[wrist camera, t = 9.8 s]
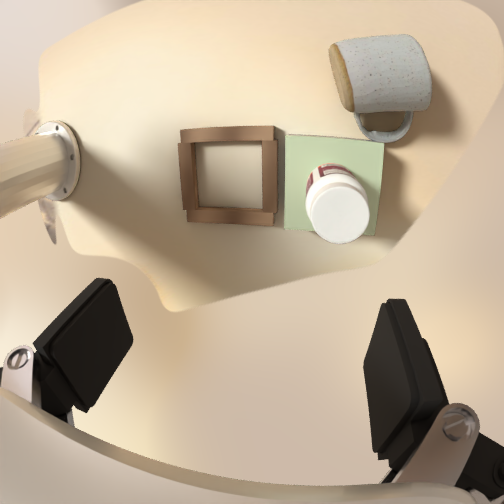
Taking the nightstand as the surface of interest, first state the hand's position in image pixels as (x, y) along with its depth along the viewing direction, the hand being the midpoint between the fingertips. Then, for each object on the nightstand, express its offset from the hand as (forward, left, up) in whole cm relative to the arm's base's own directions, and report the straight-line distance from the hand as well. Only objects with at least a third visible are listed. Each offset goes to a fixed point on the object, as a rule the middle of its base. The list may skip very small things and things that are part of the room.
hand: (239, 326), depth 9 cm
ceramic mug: (+9, +10, -24) cm, 27 cm away
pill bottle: (+4, 0, -19) cm, 20 cm away
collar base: (-7, 0, -23) cm, 24 cm away
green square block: (+4, 0, -23) cm, 24 cm away
